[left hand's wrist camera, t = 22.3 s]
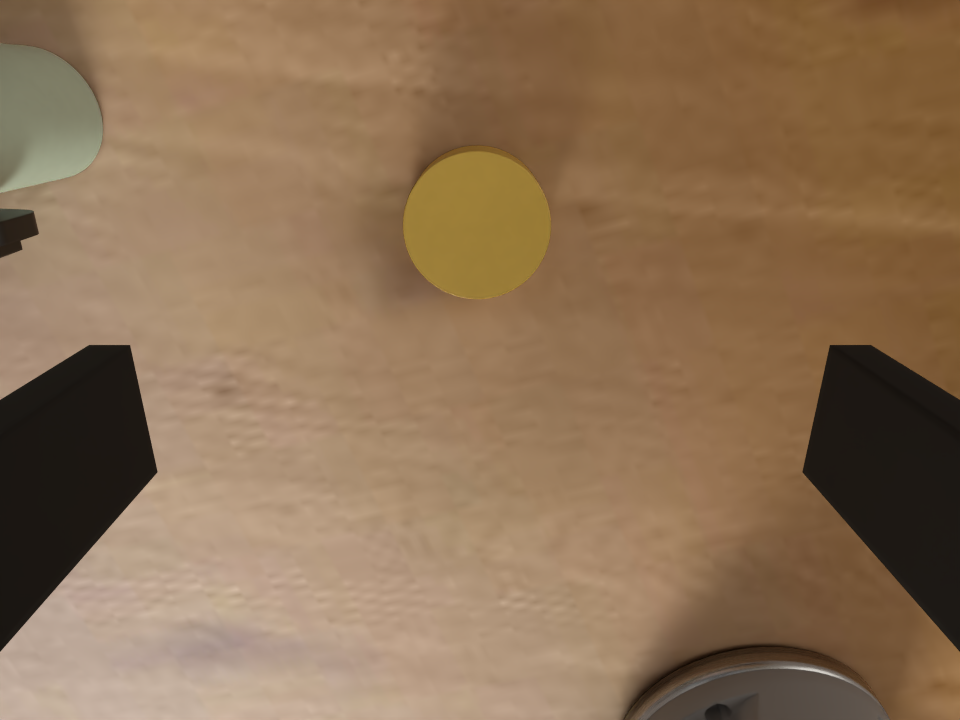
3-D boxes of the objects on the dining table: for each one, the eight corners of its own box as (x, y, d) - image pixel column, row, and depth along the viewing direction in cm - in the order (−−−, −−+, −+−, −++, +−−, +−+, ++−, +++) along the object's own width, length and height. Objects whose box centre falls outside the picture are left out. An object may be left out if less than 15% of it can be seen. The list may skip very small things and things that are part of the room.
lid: (564, 171, 25) (572, 179, 23) (519, 298, 27) (522, 316, 25) (430, 125, 24) (425, 129, 22) (393, 260, 26) (386, 275, 24)
